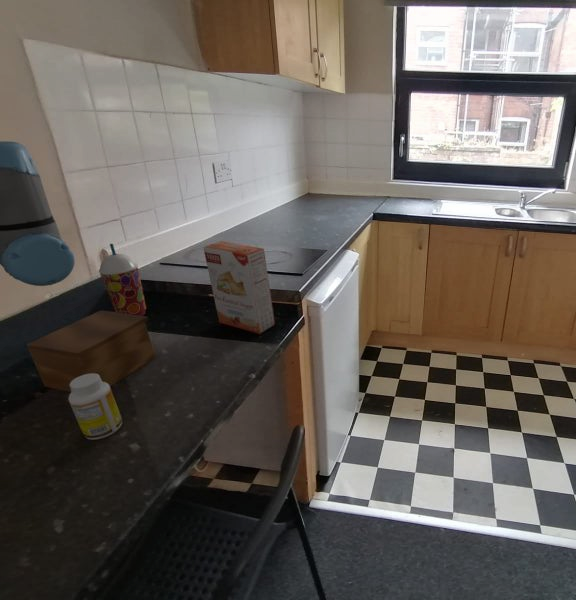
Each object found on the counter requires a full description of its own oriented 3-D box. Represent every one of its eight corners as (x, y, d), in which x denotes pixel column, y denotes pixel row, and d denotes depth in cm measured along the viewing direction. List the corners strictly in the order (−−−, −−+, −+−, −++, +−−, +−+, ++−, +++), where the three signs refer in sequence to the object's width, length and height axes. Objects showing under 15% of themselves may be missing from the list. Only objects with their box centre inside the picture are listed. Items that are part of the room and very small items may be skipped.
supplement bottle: (110, 415, 72) (92, 367, 68) (130, 424, 70) (113, 374, 66) (76, 435, 67) (54, 385, 63) (97, 445, 65) (76, 394, 61)
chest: (110, 349, 92) (98, 315, 89) (155, 357, 90) (145, 321, 86) (44, 386, 80) (27, 348, 76) (95, 396, 77) (80, 357, 73)
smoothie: (124, 309, 112) (102, 239, 104) (156, 308, 113) (136, 238, 105) (108, 323, 104) (83, 249, 96) (142, 321, 105) (120, 248, 97)
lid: (102, 313, 90) (101, 310, 89) (148, 320, 87) (147, 316, 86) (27, 348, 76) (26, 344, 76) (80, 357, 73) (78, 353, 73)
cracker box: (217, 324, 104) (201, 246, 95) (235, 315, 109) (221, 239, 100) (259, 335, 98) (245, 253, 90) (276, 325, 103) (264, 246, 95)
